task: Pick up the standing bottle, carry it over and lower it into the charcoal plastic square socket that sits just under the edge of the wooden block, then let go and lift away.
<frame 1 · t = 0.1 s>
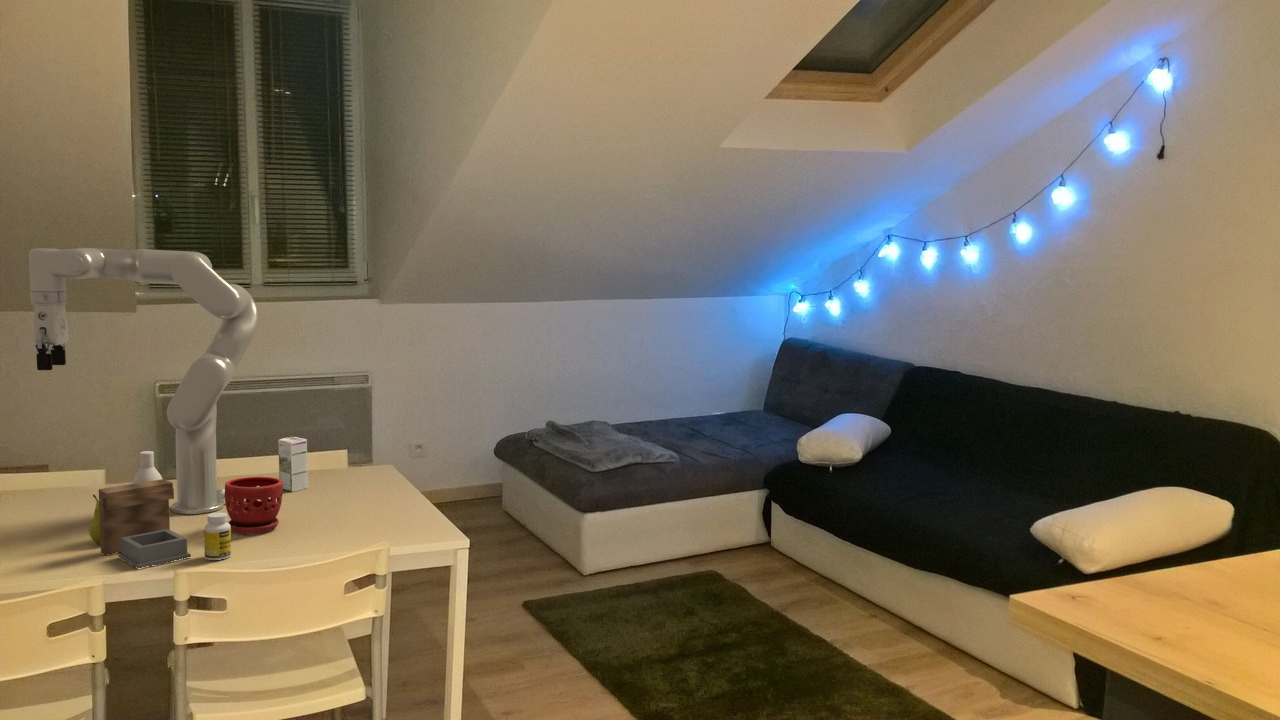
hand: (51, 367, 242), 37 cm above the table, tool pointing down, fingers open, 9 cm apart
socket: (154, 558, 215), on the table
supplement bottle: (218, 558, 216), on the table
fruit: (104, 544, 224), on the table
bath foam: (149, 535, 231), on the table
syrup box: (293, 489, 276), on the table
plant pot: (254, 529, 238), on the table
wooden block: (138, 549, 220), on the table
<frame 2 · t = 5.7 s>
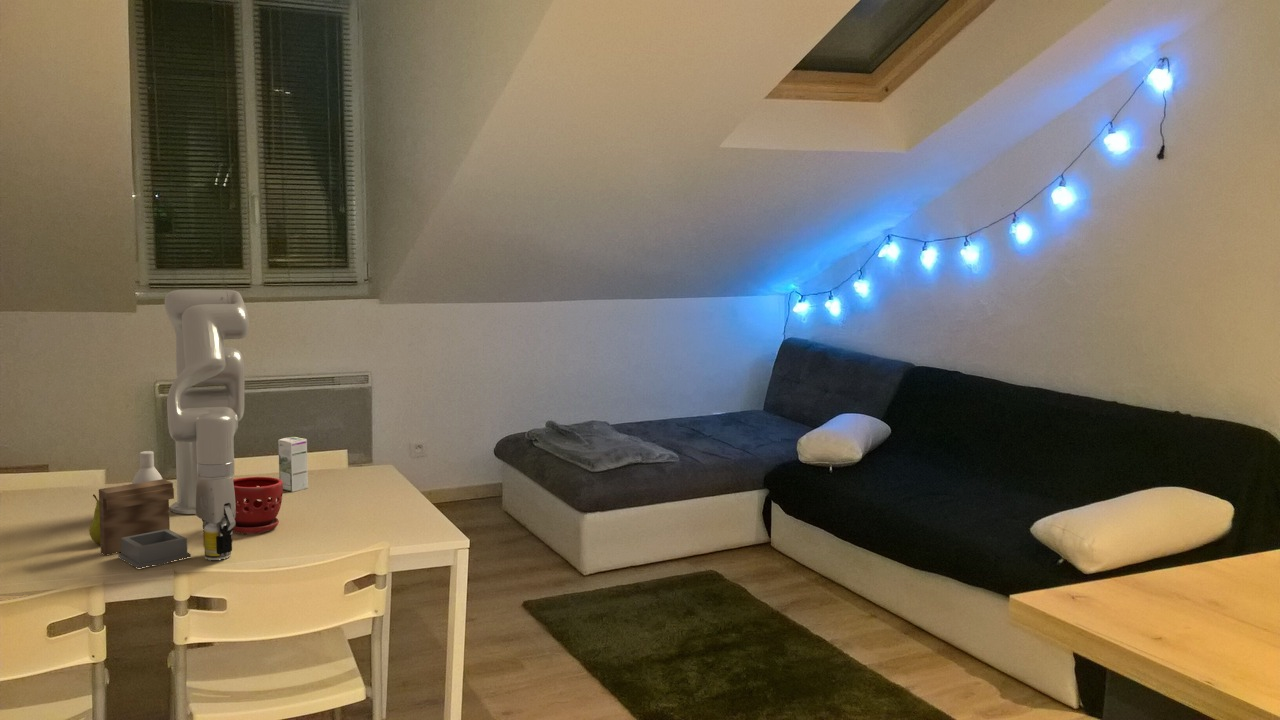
hand: (217, 548, 216), 2 cm above the table, tool pointing down, fingers closed on supplement bottle, 5 cm apart
supplement bottle: (218, 558, 216), on the table, touching gripper
everything else where it was.
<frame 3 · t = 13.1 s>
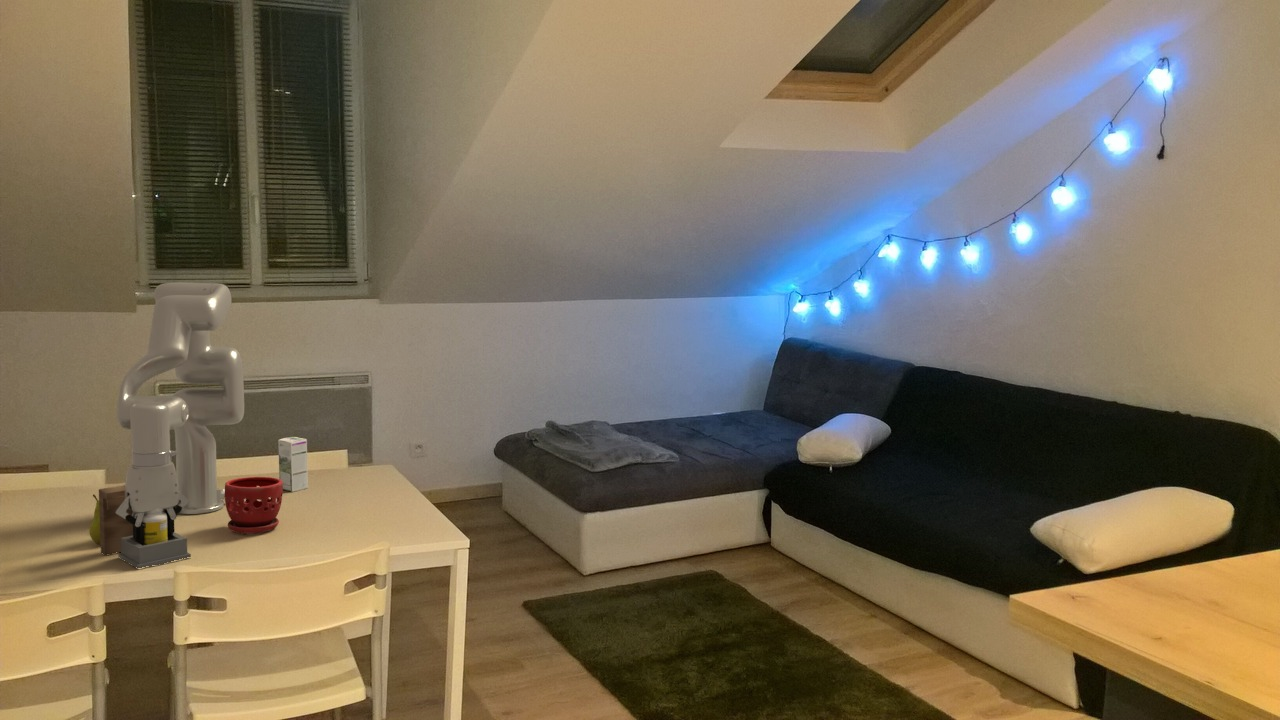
hand: (154, 538, 214), 4 cm above the table, tool pointing down, fingers closed on supplement bottle, 5 cm apart
supplement bottle: (154, 548, 215), point 2 cm above the table, touching gripper
everything else where it was.
when the fingers open (5 cm above the table, at t = 14.3 s): supplement bottle stays where it is, resting on socket.
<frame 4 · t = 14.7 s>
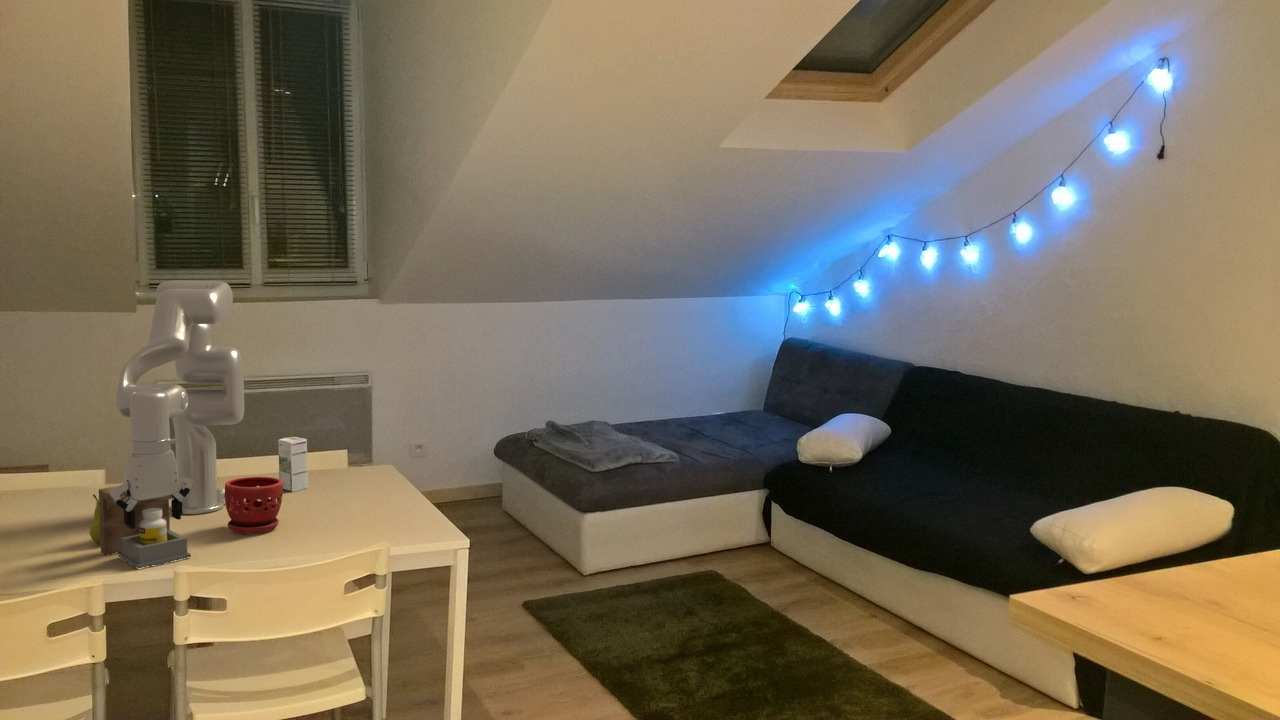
hand: (154, 522, 214), 8 cm above the table, tool pointing down, fingers open, 9 cm apart
supplement bottle: (154, 554, 215), point 1 cm above the table, touching socket
everything else where it was.
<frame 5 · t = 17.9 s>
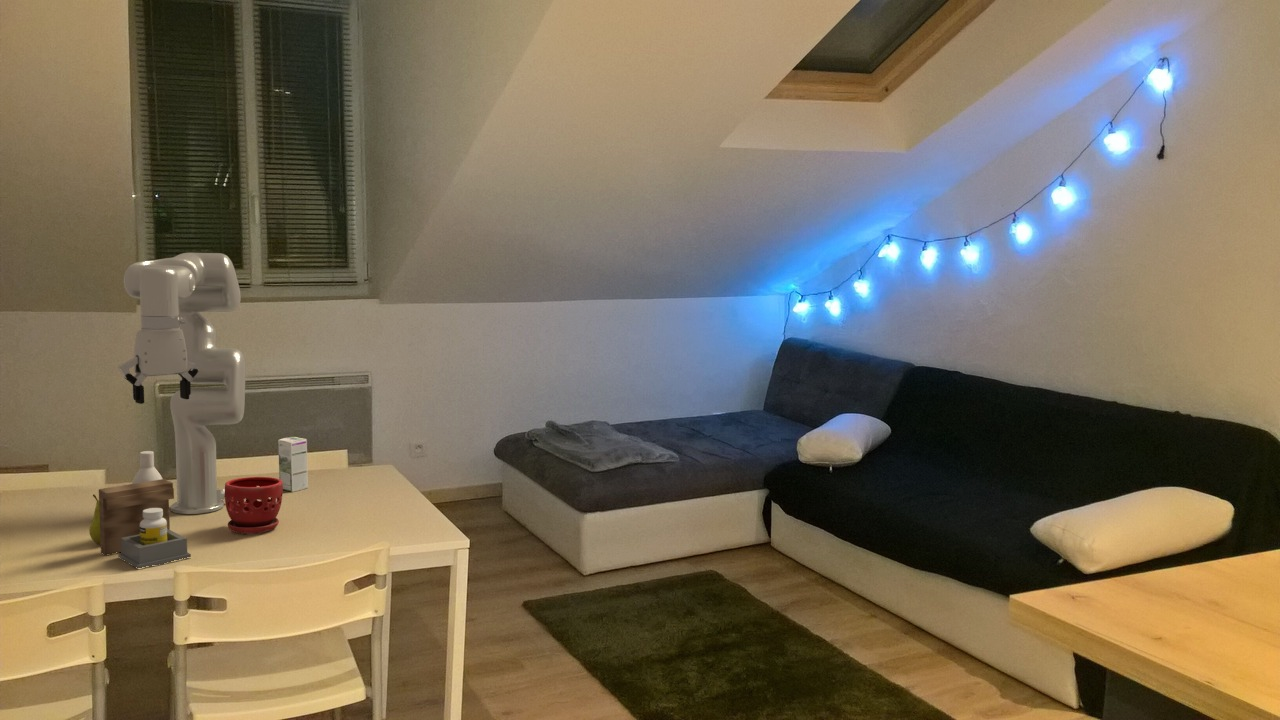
hand: (162, 400, 216), 34 cm above the table, tool pointing down, fingers open, 9 cm apart
nothing on the table moved.
at the end: supplement bottle 0.2 cm off-centre on the socket, point 0.8 cm above the socket's base; supplement bottle tilted 0°; the gripper is holding nothing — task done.
